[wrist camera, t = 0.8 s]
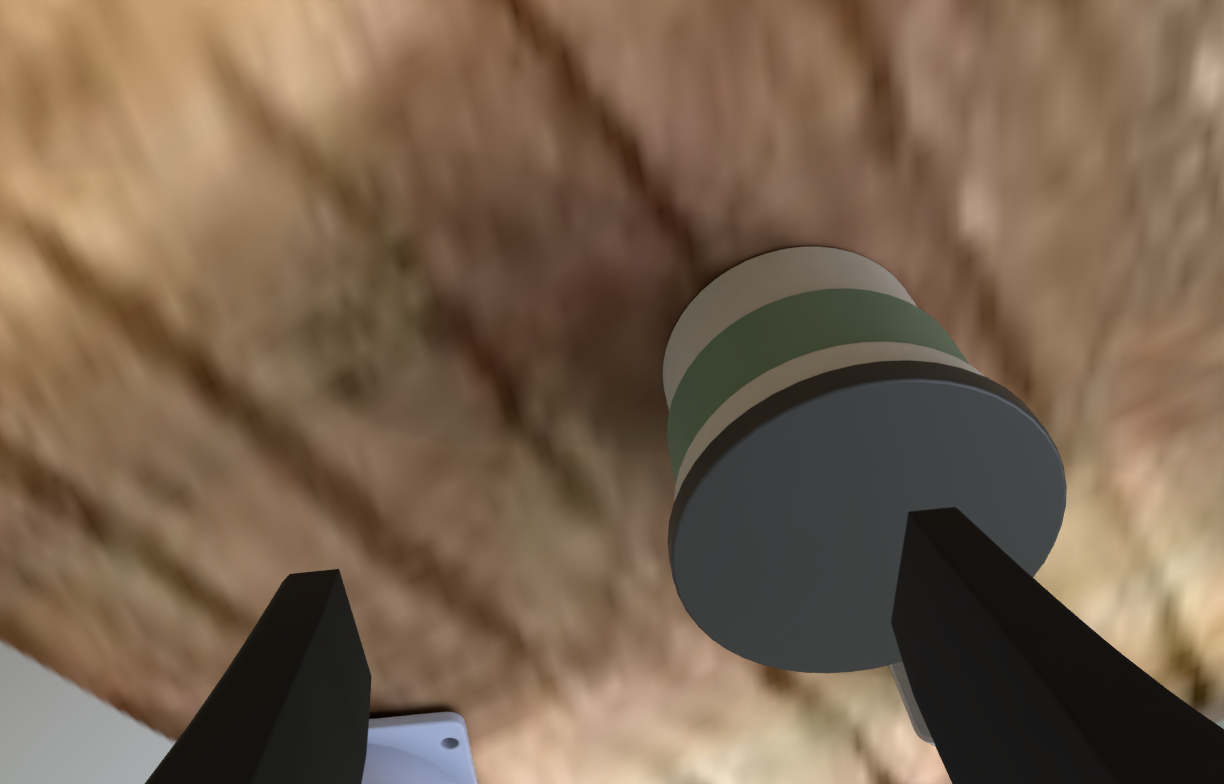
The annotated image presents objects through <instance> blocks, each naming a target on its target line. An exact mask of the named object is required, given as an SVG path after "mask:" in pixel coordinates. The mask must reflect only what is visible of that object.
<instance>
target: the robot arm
mask: <svg viewBox="0 0 1224 784" xmlns="http://www.w3.org/2000/svg"><path fill="white" fill-rule="evenodd" d="M891 624H892V628H893V631H894V634H895V638H896V641H897V645H898V648H899V651H900V655H901V658H902V662H903V665H904V668H905V671H906V674H907V677H908V680H909V683H910V687H911V690H912V693H913V696H914V698H915V700H916V703H917V705H918V707H919V710H920V712H921V714H922V717H923V719H924V721H925V723H926V726H927V728H928V730H929V732H930V735H931V737H932V739H933V741H934V744H935V746H936V748H937V750H938V753H939V755H940V757H941V759H942V762H943V764H944V766H945V768H946V770H947V773H948V775H949V777H950V779H951V781H952V784H1224V729H1223V728H1221V727H1219V726H1218V725H1217V724H1215V723H1214V722H1212V721H1211V720H1209V719H1208V718H1207V717H1205V716H1204V715H1202V714H1201V713H1199V712H1198V711H1196V710H1195V709H1194V708H1192V707H1191V706H1189V705H1188V704H1187V703H1185V702H1184V701H1182V700H1181V699H1180V698H1178V697H1177V696H1176V695H1174V694H1173V693H1171V692H1170V691H1169V690H1167V689H1166V688H1165V687H1163V686H1162V685H1161V684H1160V683H1158V682H1157V681H1156V680H1154V679H1153V678H1152V677H1151V676H1149V675H1148V674H1147V673H1145V672H1144V671H1143V670H1142V669H1140V668H1139V667H1138V666H1136V665H1135V664H1134V663H1133V662H1131V661H1130V660H1129V659H1127V658H1126V657H1125V656H1124V655H1122V654H1121V653H1120V652H1119V651H1117V650H1116V649H1115V648H1114V647H1113V646H1111V645H1110V644H1109V643H1108V642H1106V641H1105V640H1104V639H1103V638H1102V637H1100V636H1099V635H1098V634H1097V633H1096V632H1095V631H1093V630H1092V629H1091V628H1090V627H1089V626H1088V625H1086V624H1085V623H1084V622H1083V621H1082V620H1081V619H1079V618H1078V617H1077V616H1076V615H1075V614H1074V613H1072V612H1071V611H1070V610H1069V609H1068V608H1067V607H1065V606H1064V605H1063V604H1062V603H1061V602H1060V601H1058V600H1057V599H1056V598H1055V597H1054V596H1053V595H1052V594H1050V593H1049V592H1048V591H1047V590H1046V589H1045V588H1044V587H1043V586H1042V585H1040V584H1039V583H1038V582H1037V581H1036V580H1035V579H1034V578H1033V577H1032V576H1030V575H1029V574H1028V573H1027V572H1026V571H1025V570H1024V569H1023V568H1022V567H1021V566H1020V565H1018V564H1017V563H1016V562H1015V561H1014V560H1013V559H1012V558H1011V557H1010V556H1009V555H1008V554H1006V553H1005V552H1004V551H1003V550H1002V549H1001V548H1000V547H999V546H998V545H997V544H996V543H995V542H993V541H992V540H991V539H990V538H989V537H988V536H987V535H986V534H985V533H984V532H983V531H982V530H981V529H979V528H978V527H977V526H976V525H975V524H974V523H973V522H972V521H971V520H970V519H968V518H967V517H966V516H965V515H964V514H963V513H962V512H961V511H960V510H959V509H957V508H956V507H949V508H939V509H929V510H919V511H910V512H908V517H907V524H906V530H905V536H904V543H903V549H902V555H901V561H900V568H899V574H898V580H897V586H896V593H895V599H894V605H893V612H892V618H891ZM370 693H371V674H370V670H369V667H368V664H367V661H366V657H365V654H364V651H363V647H362V644H361V641H360V637H359V634H358V631H357V627H356V624H355V621H354V617H353V614H352V611H351V607H350V604H349V601H348V597H347V594H346V591H345V588H344V584H343V581H342V578H341V574H340V571H339V569H335V570H325V571H315V572H305V573H295V574H289V575H288V577H287V578H286V579H285V580H284V581H283V582H282V584H281V585H280V587H279V589H278V590H277V592H276V593H275V595H274V597H273V598H272V600H271V602H270V603H269V605H268V606H267V608H266V610H265V611H264V613H263V615H262V616H261V618H260V619H259V621H258V623H257V624H256V626H255V627H254V629H253V630H252V632H251V634H250V635H249V637H248V638H247V640H246V641H245V643H244V645H243V646H242V648H241V649H240V651H239V652H238V654H237V655H236V657H235V658H234V660H233V661H232V663H231V665H230V666H229V668H228V669H227V671H226V672H225V673H224V675H223V676H222V678H221V679H220V681H219V682H218V684H217V685H216V687H215V688H214V689H213V691H212V692H211V694H210V695H209V697H208V698H207V700H206V701H205V703H204V704H203V705H202V707H201V708H200V710H199V711H198V713H197V714H196V716H195V717H194V719H193V720H192V721H191V723H190V724H189V726H188V727H187V728H186V730H185V731H184V732H183V734H182V735H181V737H180V738H179V739H178V740H177V742H176V743H175V744H174V746H173V747H172V748H171V750H170V751H169V752H168V754H167V755H166V756H165V758H164V759H163V760H162V762H161V763H160V764H159V766H158V767H157V768H156V770H155V771H154V772H153V773H152V775H151V776H150V778H149V779H148V780H147V781H146V783H145V784H478V781H477V776H476V771H475V767H474V762H473V757H472V752H471V747H470V743H469V738H468V733H467V728H466V723H465V720H464V718H463V717H462V716H461V715H459V714H458V713H455V712H436V713H426V714H416V715H406V716H396V717H385V718H375V719H369V711H370Z"/></svg>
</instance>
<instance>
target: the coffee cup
mask: <svg viewBox="0 0 1224 784" xmlns="http://www.w3.org/2000/svg"><path fill="white" fill-rule="evenodd" d="M663 385H664V392H665V396H666V401H667V405H668V409H669V415H668V422H667V444H668V452H669V457H670V461H671V466H672V471H673V476H674V480H675V485H676V486H675V495H674V505H673V509H672V513H671V517H670V521H669V530H668V550H669V559H670V565H671V570H672V576H673V580H674V583H675V586H676V590H677V593H678V596H679V598H680V600H681V602H682V604H683V606H684V608H685V609H686V611H687V612H688V614H689V615H690V616H691V618H692V619H693V620H694V622H695V623H696V624H697V625H698V627H699V628H701V629H702V630H703V631H704V632H705V633H706V634H707V635H708V636H709V637H710V638H711V639H712V640H714V641H715V642H717V643H718V644H720V645H721V646H723V647H724V648H726V649H727V650H729V651H731V652H733V653H735V654H737V655H739V656H741V657H743V658H745V659H748V660H751V661H754V662H756V663H759V664H762V665H766V666H770V667H774V668H778V669H783V670H790V671H797V672H806V673H840V672H853V671H860V670H867V669H874V668H878V667H882V666H887V665H891V664H896V663H899V662H902V658H901V655H900V651H899V648H898V645H897V641H896V638H895V634H894V631H893V628H892V624H891V618H892V612H893V605H894V599H895V593H896V586H897V580H898V574H899V568H900V561H901V555H902V549H903V543H904V536H905V530H906V524H907V517H908V512H910V511H919V510H929V509H939V508H949V507H956V508H957V509H959V510H960V511H961V512H962V513H963V514H964V515H965V516H966V517H967V518H968V519H970V520H971V521H972V522H973V523H974V524H975V525H976V526H977V527H978V528H979V529H981V530H982V531H983V532H984V533H985V534H986V535H987V536H988V537H989V538H990V539H991V540H992V541H993V542H995V543H996V544H997V545H998V546H999V547H1000V548H1001V549H1002V550H1003V551H1004V552H1005V553H1006V554H1008V555H1009V556H1010V557H1011V558H1012V559H1013V560H1014V561H1015V562H1016V563H1017V564H1018V565H1020V566H1021V567H1022V568H1023V569H1024V570H1025V571H1026V572H1027V573H1028V574H1029V575H1030V576H1032V577H1034V576H1035V574H1036V573H1037V571H1038V570H1039V569H1040V567H1041V566H1042V565H1043V563H1044V562H1045V560H1046V558H1047V556H1048V554H1049V553H1050V551H1051V549H1052V547H1053V545H1054V543H1055V541H1056V538H1057V536H1058V533H1059V530H1060V528H1061V525H1062V521H1063V516H1064V511H1065V507H1066V479H1065V473H1064V466H1063V463H1062V460H1061V458H1060V455H1059V452H1058V449H1057V447H1056V445H1055V444H1054V442H1053V440H1052V439H1051V437H1050V435H1049V434H1048V432H1047V431H1046V429H1045V428H1044V426H1043V425H1042V424H1041V422H1040V421H1039V420H1038V418H1037V417H1036V416H1035V415H1034V414H1033V412H1032V411H1031V410H1030V409H1029V408H1028V407H1027V406H1026V405H1025V403H1024V402H1023V401H1022V400H1021V399H1019V398H1018V397H1017V396H1015V395H1014V394H1013V393H1012V392H1010V391H1009V390H1008V389H1006V388H1005V387H1003V386H1001V385H1000V384H998V383H996V382H994V381H992V380H990V379H989V378H987V377H985V376H984V375H983V374H982V373H980V372H979V371H978V370H976V369H975V368H974V367H973V366H971V365H970V364H969V362H968V361H967V360H966V358H965V357H964V355H963V354H962V353H961V351H960V350H959V348H958V347H957V345H956V344H955V343H954V341H953V340H952V338H951V337H950V335H949V334H948V333H947V332H946V331H945V330H944V328H943V327H942V326H941V325H940V324H939V323H938V322H937V321H936V320H935V319H933V318H932V317H931V316H930V315H928V314H927V313H926V312H925V311H923V310H921V309H920V308H918V307H917V306H916V304H915V303H914V301H913V300H912V298H911V297H910V295H909V294H908V292H907V291H906V290H905V288H904V287H903V285H902V284H901V283H900V282H899V281H898V280H897V279H896V278H895V277H894V276H893V275H892V274H891V273H890V272H888V271H887V270H886V269H885V268H883V267H882V266H880V265H879V264H877V263H875V262H873V261H872V260H870V259H868V258H866V257H863V256H861V255H858V254H855V253H853V252H849V251H845V250H840V249H836V248H827V247H795V248H788V249H781V250H778V251H774V252H770V253H766V254H763V255H760V256H757V257H755V258H752V259H750V260H747V261H745V262H743V263H741V264H739V265H737V266H735V267H733V268H731V269H730V270H728V271H727V272H725V273H724V274H722V275H721V276H719V277H718V278H716V279H715V280H714V281H713V282H711V283H710V284H709V285H708V286H707V287H705V288H704V289H703V290H702V291H701V292H700V293H699V294H698V295H697V296H696V297H695V298H694V300H693V301H692V302H691V303H690V304H689V305H688V307H687V308H686V310H685V311H684V312H683V314H682V315H681V317H680V318H679V320H678V322H677V324H676V326H675V327H674V329H673V331H672V334H671V336H670V339H669V342H668V344H667V347H666V352H665V357H664V361H663Z"/></svg>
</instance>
